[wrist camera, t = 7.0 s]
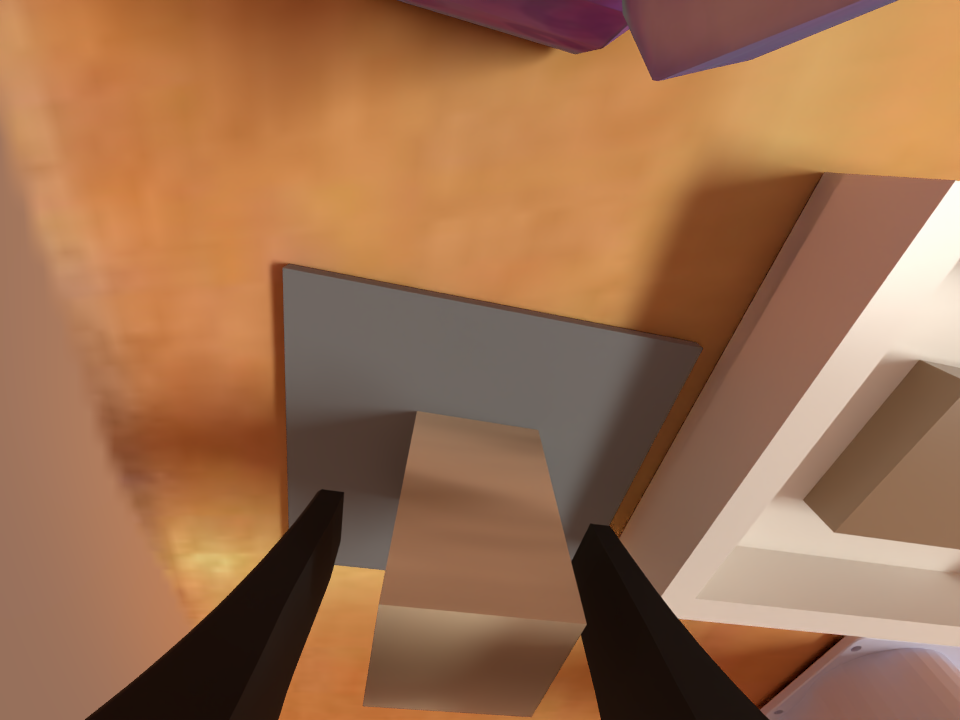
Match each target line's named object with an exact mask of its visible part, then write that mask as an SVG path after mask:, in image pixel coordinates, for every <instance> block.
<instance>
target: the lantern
mask: <svg viewBox="0 0 960 720" xmlns="http://www.w3.org/2000/svg"><path fill="white" fill-rule="evenodd" d="M398 1H401V2H405V3H408V4H411V5H414V6H418V7H421V8H424V9H428V10H431V11H434V12H438V13H441V14H444V15H447V16H451V17H454V18H457V19H461V20H464V21H467V22H471V23H474V24H477V25H480V26H484V27H487V28H490V29H494V30H497V31H500V32H504V33H507V34H510V35H513V36H517V37H520V38H523V39H527V40H530V41H533V42H537V43H540V44H543V45H546V46H550V47H553V48H556V49H560V50H563V51H566V52H570V53H573V54H578V53H583V52H588V51H592V50H597V49H601V48H603V47H605V46H606V45H608V44H609V43H610V42H612V41H613V40H615V39H616V38H617V37H619V36H620V35H622V34H623V33H624V32H626V31H627V30H629V29H630V31H631V33H632V35H633V38H634V40H635V42H636V44H637V46H638V49H639V51H640V53H641V55H642V57H643V60H644V62H645V64H646V66H647V69H648V71H649V73H650V75H651V77H652V80H655V81H660V80H665V79H669V78H673V77H677V76H682V75H686V74H690V73H694V72H699V71H703V70H707V69H712V68H716V67H721V66H725V65H730V64H734V63H739V62H744V61H748V60H752V59H754V58H757V57H759V56H761V55H764V54H766V53H769V52H771V51H774V50H776V49H779V48H781V47H784V46H786V45H789V44H791V43H794V42H796V41H799V40H801V39H804V38H806V37H808V36H811V35H813V34H816V33H818V32H821V31H823V30H826V29H828V28H831V27H833V26H836V25H838V24H841V23H843V22H846V21H848V20H851V19H853V18H855V17H858V16H860V15H863V14H865V13H868V12H870V11H873V10H875V9H878V8H880V7H883V6H885V5H888V4H890V3H893V2H895V1H897V0H398Z"/></svg>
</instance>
